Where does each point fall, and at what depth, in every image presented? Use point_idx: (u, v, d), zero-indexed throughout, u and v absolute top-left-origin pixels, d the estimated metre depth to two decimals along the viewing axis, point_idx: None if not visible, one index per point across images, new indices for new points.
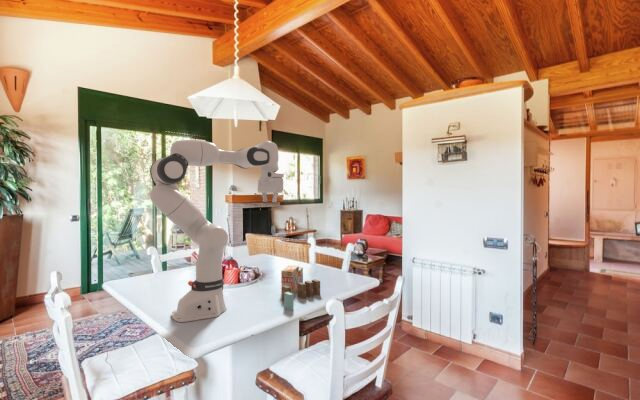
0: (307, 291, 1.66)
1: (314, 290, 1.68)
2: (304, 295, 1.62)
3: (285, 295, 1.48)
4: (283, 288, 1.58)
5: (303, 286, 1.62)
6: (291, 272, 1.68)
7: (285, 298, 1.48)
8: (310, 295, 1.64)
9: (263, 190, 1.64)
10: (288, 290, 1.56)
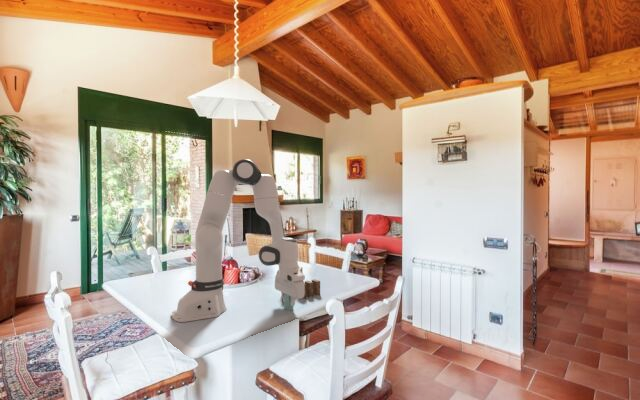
0: (307, 291, 1.66)
1: (314, 290, 1.68)
2: (304, 295, 1.62)
3: (285, 295, 1.48)
4: None
5: None
6: None
7: (285, 298, 1.48)
8: (310, 295, 1.64)
9: (281, 289, 1.49)
10: None
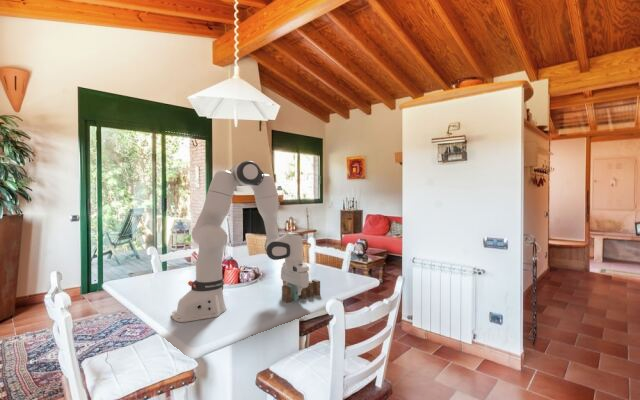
0: (307, 291, 1.66)
1: (314, 290, 1.68)
2: (304, 295, 1.62)
3: (291, 287, 1.61)
4: (283, 288, 1.58)
5: None
6: None
7: (291, 290, 1.61)
8: (310, 295, 1.64)
9: (287, 280, 1.62)
10: (288, 290, 1.56)
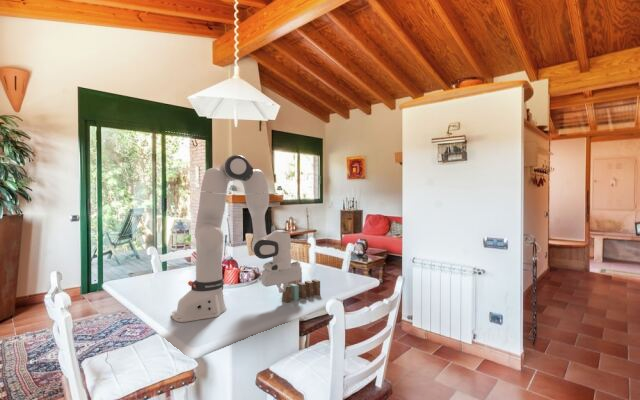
0: (307, 291, 1.66)
1: (314, 290, 1.68)
2: (304, 295, 1.62)
3: None
4: None
5: (303, 286, 1.62)
6: None
7: (291, 290, 1.61)
8: (310, 295, 1.64)
9: None
10: (289, 290, 1.57)
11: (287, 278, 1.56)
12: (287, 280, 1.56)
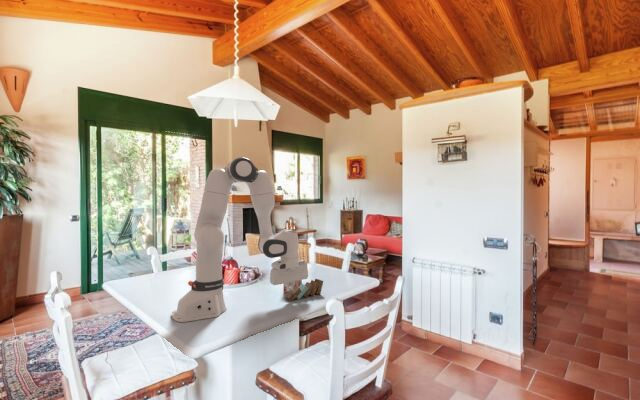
0: None
1: None
2: (307, 294, 1.63)
3: (301, 285, 1.65)
4: (295, 287, 1.62)
5: (311, 286, 1.65)
6: None
7: None
8: (311, 293, 1.65)
9: None
10: (298, 291, 1.60)
11: (295, 276, 1.59)
12: (295, 279, 1.59)
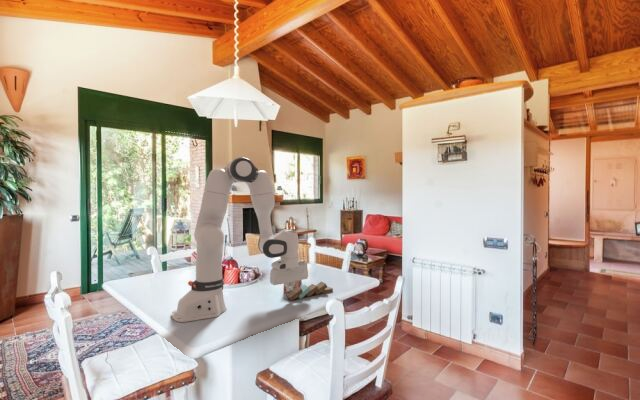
0: None
1: None
2: (309, 294, 1.64)
3: (303, 286, 1.66)
4: (296, 288, 1.63)
5: (316, 288, 1.66)
6: None
7: (301, 288, 1.65)
8: (317, 291, 1.67)
9: None
10: (300, 291, 1.60)
11: (295, 276, 1.59)
12: (295, 279, 1.59)
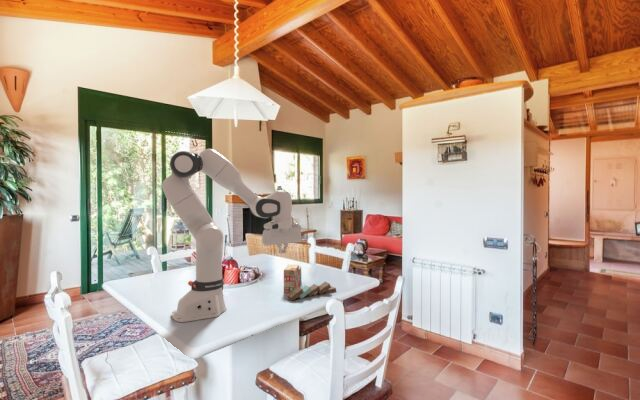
0: (320, 287, 1.69)
1: None
2: (311, 294, 1.65)
3: (305, 286, 1.66)
4: (297, 288, 1.63)
5: (317, 288, 1.67)
6: (293, 271, 1.71)
7: (303, 288, 1.65)
8: (320, 291, 1.67)
9: None
10: (300, 292, 1.61)
11: (288, 238, 1.56)
12: (287, 241, 1.56)
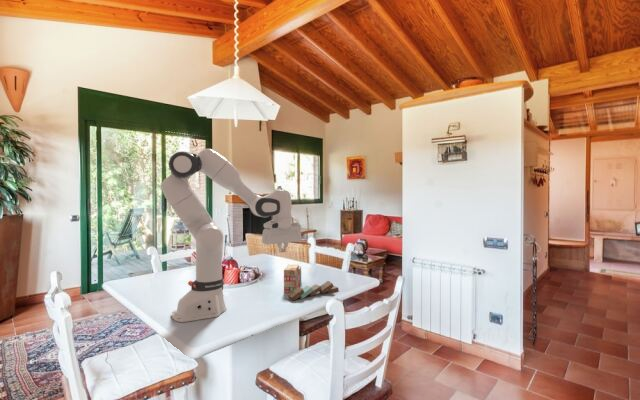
0: (323, 287, 1.70)
1: None
2: (312, 293, 1.65)
3: (306, 287, 1.66)
4: (298, 288, 1.63)
5: (319, 288, 1.68)
6: (294, 271, 1.71)
7: (304, 288, 1.65)
8: (323, 290, 1.68)
9: None
10: (301, 292, 1.61)
11: (288, 237, 1.56)
12: (287, 240, 1.56)
